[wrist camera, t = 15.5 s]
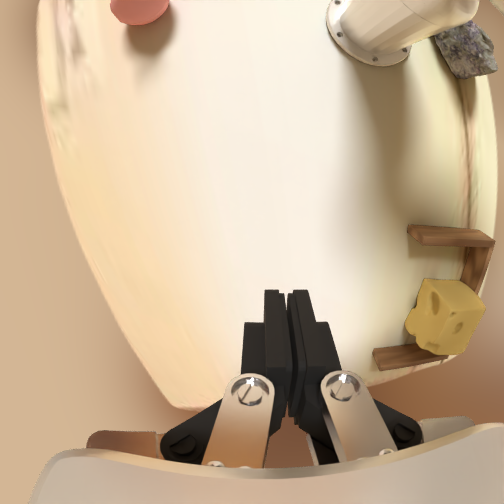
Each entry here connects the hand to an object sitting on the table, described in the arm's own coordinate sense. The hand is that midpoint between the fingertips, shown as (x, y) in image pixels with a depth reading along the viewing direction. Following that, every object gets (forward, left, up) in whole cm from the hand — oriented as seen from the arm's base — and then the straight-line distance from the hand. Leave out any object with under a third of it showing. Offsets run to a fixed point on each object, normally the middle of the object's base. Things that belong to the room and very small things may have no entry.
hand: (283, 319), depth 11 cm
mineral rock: (-26, +28, -27) cm, 48 cm away
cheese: (+19, +32, -27) cm, 46 cm away
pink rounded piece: (-27, -16, -27) cm, 42 cm away
